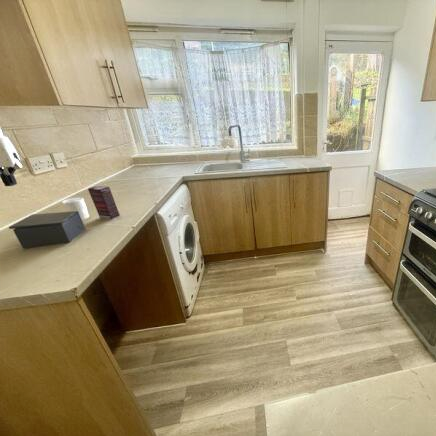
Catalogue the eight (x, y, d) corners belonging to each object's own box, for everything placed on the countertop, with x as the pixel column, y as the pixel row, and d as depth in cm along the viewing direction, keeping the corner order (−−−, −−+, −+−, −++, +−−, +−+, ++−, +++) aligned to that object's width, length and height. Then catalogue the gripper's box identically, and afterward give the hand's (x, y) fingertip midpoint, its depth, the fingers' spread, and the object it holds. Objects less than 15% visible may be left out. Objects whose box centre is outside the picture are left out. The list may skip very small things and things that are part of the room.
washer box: (23, 250, 94) (12, 229, 91) (44, 235, 106) (35, 217, 102) (70, 244, 98) (61, 224, 94) (86, 230, 109) (78, 212, 105)
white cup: (67, 220, 120) (58, 202, 116) (84, 214, 127) (76, 196, 122) (77, 222, 117) (68, 203, 113) (94, 216, 124) (86, 197, 120)
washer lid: (9, 229, 90) (8, 227, 90) (32, 216, 102) (32, 214, 101) (61, 224, 94) (60, 222, 94) (78, 212, 105) (78, 210, 105)
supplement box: (121, 216, 123) (109, 186, 116) (112, 220, 118) (99, 189, 112) (109, 215, 125) (97, 185, 119) (99, 219, 121) (86, 188, 115)
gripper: (-53, 134, 78) (-23, 189, 86) (5, 133, 82) (28, 186, 89) (-31, 132, 85) (-6, 184, 92) (21, 132, 88) (42, 181, 96)
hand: (11, 185), depth 91 cm, fingers closed
